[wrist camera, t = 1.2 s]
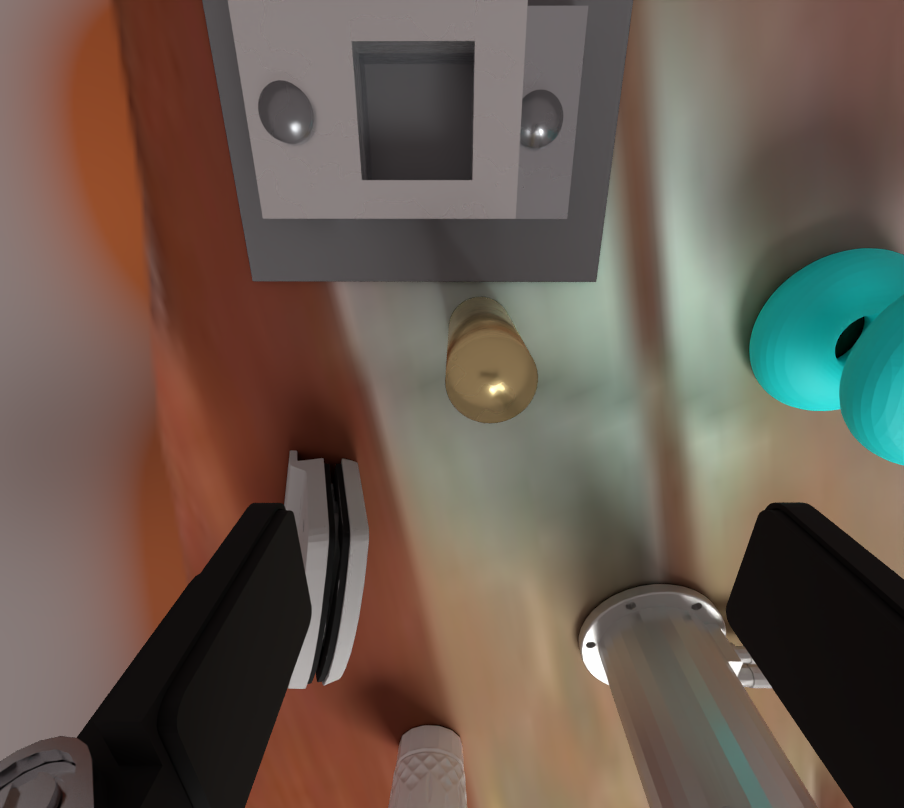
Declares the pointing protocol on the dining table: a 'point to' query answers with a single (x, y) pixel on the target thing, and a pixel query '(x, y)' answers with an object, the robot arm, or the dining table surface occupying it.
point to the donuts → (815, 336)
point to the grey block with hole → (409, 42)
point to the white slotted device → (328, 561)
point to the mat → (436, 174)
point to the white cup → (429, 770)
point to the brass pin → (487, 363)
